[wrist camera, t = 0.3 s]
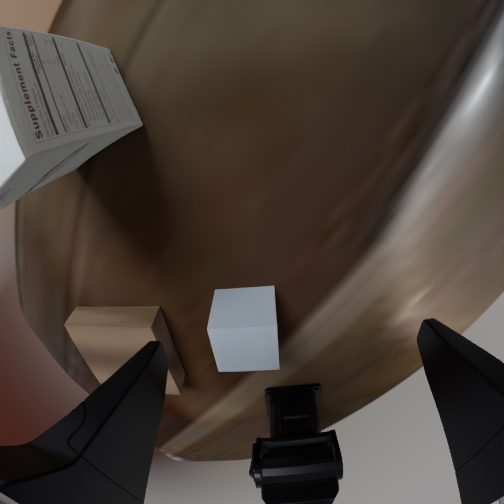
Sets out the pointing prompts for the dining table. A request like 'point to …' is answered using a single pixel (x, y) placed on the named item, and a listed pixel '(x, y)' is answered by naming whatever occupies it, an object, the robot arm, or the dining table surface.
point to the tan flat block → (122, 339)
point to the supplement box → (55, 108)
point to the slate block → (244, 329)
